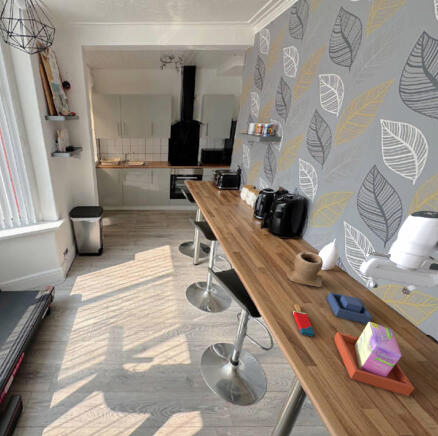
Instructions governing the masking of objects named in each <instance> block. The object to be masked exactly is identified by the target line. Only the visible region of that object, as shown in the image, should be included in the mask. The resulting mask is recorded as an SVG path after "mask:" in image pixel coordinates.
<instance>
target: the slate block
mask: <svg viewBox="0 0 438 436" xmlns="http://www.w3.org/2000/svg"><path fill="white" fill-rule="evenodd" d="M341 295H342V297H341V299H340V301H339V303H338V305H339V306H340V308H341V309H344V310H348V311H352V312H357V313H359V312H360V311H361V309H362V307H363V306H362V305H361V303H360V302H359V300H358V299H357V298H358V297H355V296H351V295H345V294H341Z"/></svg>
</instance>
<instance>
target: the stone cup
mask: <svg viewBox="0 0 438 436" xmlns="http://www.w3.org/2000/svg"><path fill="white" fill-rule="evenodd" d="M293 265H294V269H288V270H287V271H286V276H287V278H288V279H289V280H290V281H291V282H294V283H297V284H302V285H307V286H311V287H318V288H322V286H323V280H324V276H323V275H322V274H318V273H320V271H322V269H321V268H322V266H323V260H322V258H321V257H320V256H319V254H317V253H315V252H310V251H309V252H307V251H302V252H299V253H297V255H296V256H295V258H294V264H293Z"/></svg>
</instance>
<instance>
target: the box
mask: <svg viewBox="0 0 438 436" xmlns="http://www.w3.org/2000/svg"><path fill="white" fill-rule="evenodd" d="M354 347H355V352H356V357H357V362H358V368H359V370H361V371H365V372H368V373H371V374H375V375H378V376H381V377H386V376H387V375H388V373H389V372H390V371H391V369H392V368H393V367H394V365H395V364H396V363H399V362H398V361H399V360H400V359H401V358H402V356H403V355H402V352H401V350H400V346H399V344H398V341H397V339H396V337H395V334H394V331H393V329H391V328H388V327H385V326H383V325H380V324H378V323H375V322H371V321H370V322H368V324H366V326H365V327H364V329H363V331H362V333H361V334H360V336H359V339H358V341H357V343H356V344H355V346H354Z"/></svg>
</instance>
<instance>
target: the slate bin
mask: <svg viewBox="0 0 438 436" xmlns="http://www.w3.org/2000/svg"><path fill="white" fill-rule="evenodd" d="M342 295H343V294H341V293H336V292H331V291H330V292H329V293H328V295H327V298H326V300H327V301H328V304H329V306H330V307H331V309H332V312H333V313H334V315H335V317H337V318H341V319H344V320H348V321H353V322H357V323H361V324H365V325H367V324H368V322H371V321H372V319H373V316H372V314H371V313H370V312H369V310H368V308H367V307H366V305H365V304H364V303H363V301H362V300H361V298H360V297H359V298H358V297H356V298H357V299H358V300H359V302H360V303H361V305H362V306H363V307H362V309H361V311H360V312H359V313H357V312H352V311H348V310H344V309H341V308H340V306H339V305H338V303H339V301H340V299H341V297H342Z"/></svg>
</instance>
